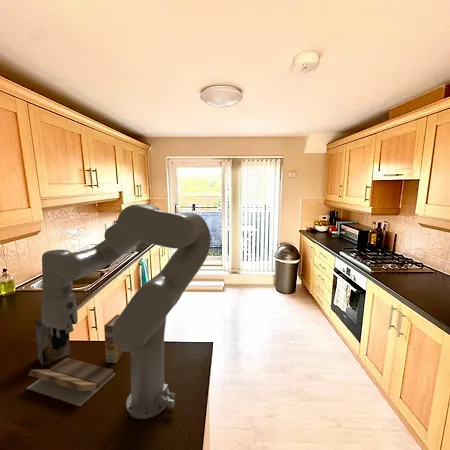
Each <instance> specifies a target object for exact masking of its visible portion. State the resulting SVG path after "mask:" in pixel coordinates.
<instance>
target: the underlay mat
mask: <svg viewBox="0 0 450 450" xmlns="http://www.w3.org/2000/svg"><path fill="white" fill-rule="evenodd" d="M115 375H116V373H115V372H114V374H113V375H112V376H111V377H110V378H109V379H108V380H107V381H106V382H104V383H103V384H102V385H101V386H100V387H99V388H98V387H96V389H95V390H88V391H77V390H74V389H71V388H68V387H64V386H61V385H58V384H55V383H52V382H48V381H45V380H42V379H39V378H38V380H36V381H35V382H34V383H32V384H30V385H28V386H27V387H26V389H27V390H29V391H33V392H36V393H39V394H42V395H45V396H48V397H52V398H54V399H57V400H60V401H63V402H66V403H68V404H72V405H75V406H77V407H82V406H83V404H85V403H86V402H87V401H88V400H89V399H90V398H91V397H92V396H93V395H94V394H96V392H97V391H99V390H100V389H101V388H102V387H104V385H105V384H106V383H107V382H109V380H111V379H112V378H113V377H114V376H115Z"/></svg>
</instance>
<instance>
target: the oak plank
mask: <svg viewBox="0 0 450 450" xmlns="http://www.w3.org/2000/svg"><path fill="white" fill-rule="evenodd" d="M28 376H29V377H33V378H35V379H38V380H39V379H42V380H45V381H48V382H52V383H55V384H58V385H61V386H64V387H68V388H71V389H74V390H77V391H88V390H95V389H96V386H97V384H95V383H92V382H88V381H85V380H81V379H78V378H75V377H71V376H68V375H64V374H61V373H57V372H54V371H51V370H50V369H30V370H29V373H28Z"/></svg>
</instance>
